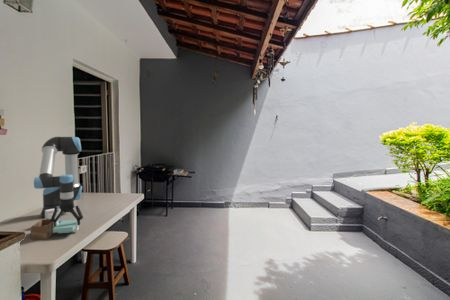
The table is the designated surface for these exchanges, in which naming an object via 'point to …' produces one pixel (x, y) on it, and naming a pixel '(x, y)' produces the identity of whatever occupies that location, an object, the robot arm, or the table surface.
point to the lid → (65, 226)
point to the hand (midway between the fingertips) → (67, 230)
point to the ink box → (50, 212)
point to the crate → (42, 229)
